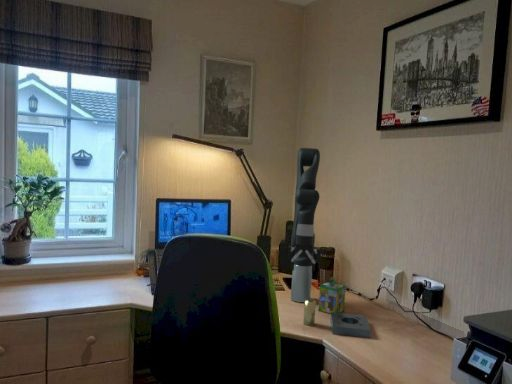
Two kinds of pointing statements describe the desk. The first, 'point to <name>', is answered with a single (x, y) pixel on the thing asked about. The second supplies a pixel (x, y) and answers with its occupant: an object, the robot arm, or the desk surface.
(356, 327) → the jig plate
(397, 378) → the desk surface
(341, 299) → the chalk box
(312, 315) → the brass sleeve
